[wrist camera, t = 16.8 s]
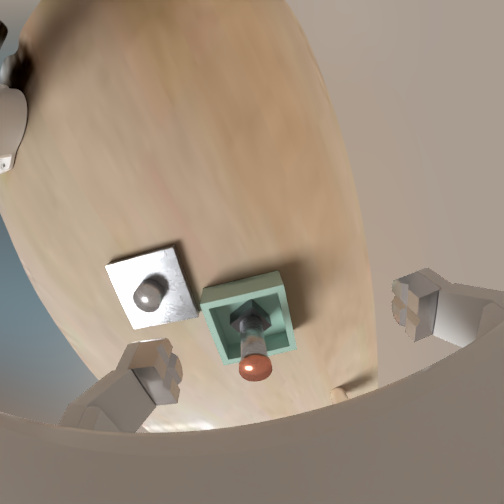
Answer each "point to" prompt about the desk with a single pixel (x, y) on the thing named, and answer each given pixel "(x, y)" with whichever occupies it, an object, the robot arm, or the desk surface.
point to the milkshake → (338, 395)
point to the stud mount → (153, 288)
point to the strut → (252, 340)
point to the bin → (232, 297)
